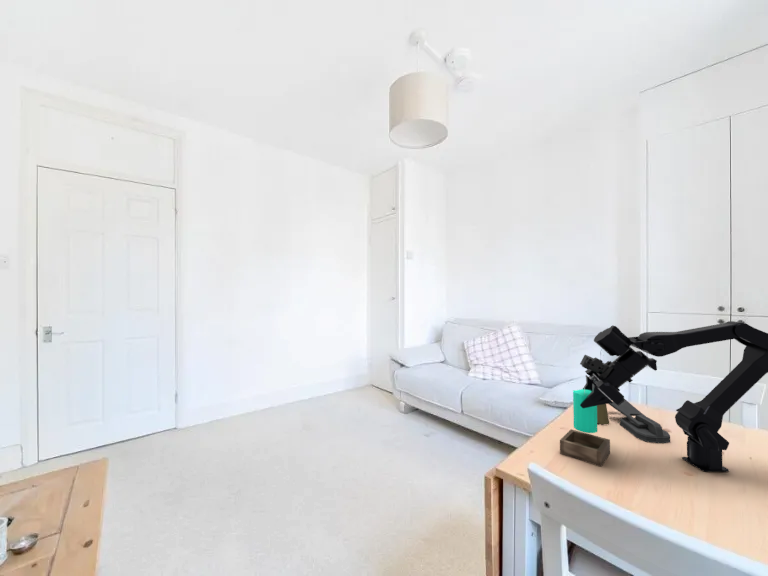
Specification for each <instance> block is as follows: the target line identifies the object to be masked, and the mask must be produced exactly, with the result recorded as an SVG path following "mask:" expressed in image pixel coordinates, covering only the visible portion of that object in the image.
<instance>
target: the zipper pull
mask: <svg viewBox="0 0 768 576" xmlns="http://www.w3.org/2000/svg"><path fill="white" fill-rule="evenodd" d="M612 402H613V401H612ZM608 405H609V406H610V407H612V408H613V409H614V410H616V411H617V412H619V413H620V414H622V415H623V416H624V417H621V418H619V426H621V427H622V428H623V429H625V430H626V431H628V432H629V433H630V434H631V435H632V436H634V437H635V438H637V439H638V440H641V441H643V442H646V443H653V444H668V443H671V435H670V433H669V432H668V431H667V430H664V429H663V427H662V425H661V424H660V423H658V422H657V421H655V420H653V419H651V418H650V417H648V416H647V415H645V414H644V413H642V412H641V411H640V410H639V409H638V408H636V407H635V406H634V405H633V404H632V403H630V402H629V401H628V400H627V399H625V398H624V402H623V403H621V404H620V405H619V406H618V405H617V404H616V403H614V402H613V404H611V403H609V404H608Z"/></svg>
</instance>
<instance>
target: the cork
mask: <svg viewBox="0 0 768 576" xmlns="http://www.w3.org/2000/svg"><path fill="white" fill-rule="evenodd" d="M597 423H599V424H608V425H610V420H609V413H608V407H607V404H603V405H597ZM599 424H598V425H599Z"/></svg>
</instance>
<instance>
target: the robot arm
mask: <svg viewBox="0 0 768 576" xmlns="http://www.w3.org/2000/svg"><path fill="white" fill-rule="evenodd" d="M729 340H735V341H736V342H738V343H739V344H741V345H744V346H745V347H744V349H743V354H742V359H741V361H740V362H739V363H738V364H737V365H736V366H734V367H733V368H732V370H731V371H730V372H729V373H728V374H727V375H726V376H725V377H724V378H723V379H721V381H720V382H719V383H718V384H717V385H715V387H714V388H713V389H711V391H710V392H708V393H707V395H706V396H705V397H703V399H702V400H701V399H700V400H699V401H696V402H692V401H690V400H686V401H685V402H684V403H683V404H682V406H681V407H679V408H677V409H675V412H677V413H676V414H675V415H674V419H675V423H676V425H677V426H678V427H679V428H680V429H681V430H682V433H683V434H684V435H686V436H687V441H686V456H682V457H681V460H682V461H685V462H687V463H688V464H690V465H692V466H693V467H694V468H695V467H696V469H698V470H700V471H701V472H705V473H710V472H712V473H714V472H719V473H720V472H722V473H723V472H725V473H726V472H729V471H730V469H729V468H727V467H725V466H723V451H727V449H728V447H729V445H730V441H728V440H727V438H725V437H723V436H722V435H721V434H720V433H719V431H720V429H721V428H722V424H723V418H724V415H725V414H726V413H727V412H728V411H729V410H730V409H731V408H732V407H734V405H735V404H737V402H738V401H739V400H741V399H742V397H744V395H746V393H748V392H749V391H750V390H751V389H752V388H753V387H754V386H755V385H756V384H757V383H758V382H759V381H760V380H762V378H763V377H764V376H765V375H767V374H768V332H765V331H763V330H760V329H757V328H756V327H753V326H751V325H750V324H749V323H746V322H741V321H735V320H734V321H733V320H728V321H725V322H724V323H723V322H722V323H719V324H714V325H708V326H702V327H696V328H689V329H685V330H678V331H645V332H642V333H640V334H639V336H630V337H629V336H627V335H625V333H623V332H622V331H621V330H620V328H619V327H617V326H616V325H611V326H610V327H607V328H605V329H604V330H602V331H600V332H598V333H597V334H596V335H595V336H594V338H593V342H594V343H596V345H598V347H600V348H601V349H602V350H603V351H604V352H606V353H607V354H608V355H609V356H611V357H614V356H616V357H617V358H616V359H614V360H613V361H611V360H608V361H606V362H603V360H602V359H599V358H598V357H591V356H590V355H587V354H584V355H583V357H582V359H581V361H580V363H579V365H581V367H582V368H583V369H586V370H585V371H584V372H585V373H586V374H585V381H586V382H585V385H584V387H585V390H590V391H592V392H591V393H590V394H589V395H588V396H587V397H586V398H585V400H584V401H583V402H582V403H581V404H580V406H581V407H582V408H587V407H592V406H597V405H603V404H606V405H609V403H611V404H613V402H614V403H616V404H617V405H618V406H619V405H620V404H621V403H623V402H624V399H625V396H624V394H622V393H621V392H620V391H621V389H620V387H622V386H623V385H624V384H626V383H627V382H628V383H632V382H633V381H634V379H632V378H633V377H635V376H636V375H637V374H638V373H640V372H641V371H642V370H644V369H645V368H646V367H649V368H650V369H652V370H653V371H655V372H656V371H657V370H658V366H657V362H658V361H657V359H655V358H653V357H652V358H651V357H650V358H649V357H648V356H647V355H646V354H649V355H651V356H654V357H658V358H659V357H660V358H661V357H665V356H668V355H671V354H674V353H677V352H679V351H680V350H682V349H685V348H687V347H689V348H690V347H694V346H699V345H706V344H711V343H713V344H714V343H717V342H718V343H719V342H725V341H729ZM632 347H633V348H636V349H638V350H637V351H635V350H634V349H633V348H632ZM645 353H646V354H645ZM584 387H582V389H584ZM612 401H613V402H612Z"/></svg>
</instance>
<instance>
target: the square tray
mask: <svg viewBox="0 0 768 576" xmlns="http://www.w3.org/2000/svg"><path fill="white" fill-rule="evenodd" d="M559 453H560V454H561V455H564V456H567V457H570V458H573V459H575V460H580V461H583V462H586V463H589V464H592V465H595V466H598V467H602V466H603V464H604V463H605V461H606V460H608V459H607V458H608V457H609V455H610V454H611V439H610V438H605V437H602V436H598V435H594V434H592V433H586V432H581V431H579V430H576V429H572V428H571V429H570V430H569V431H567V433H565V434H564V436H563V437H561V438H560V439H559Z"/></svg>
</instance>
